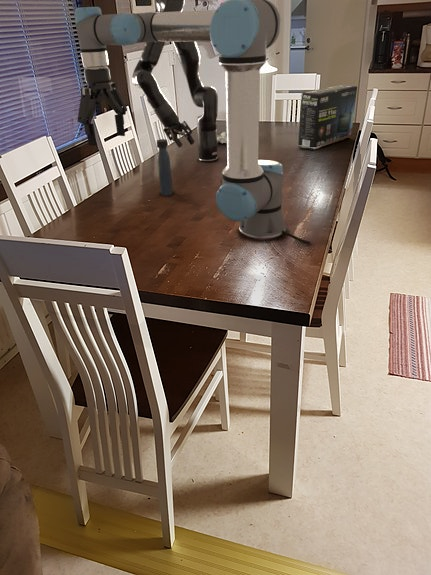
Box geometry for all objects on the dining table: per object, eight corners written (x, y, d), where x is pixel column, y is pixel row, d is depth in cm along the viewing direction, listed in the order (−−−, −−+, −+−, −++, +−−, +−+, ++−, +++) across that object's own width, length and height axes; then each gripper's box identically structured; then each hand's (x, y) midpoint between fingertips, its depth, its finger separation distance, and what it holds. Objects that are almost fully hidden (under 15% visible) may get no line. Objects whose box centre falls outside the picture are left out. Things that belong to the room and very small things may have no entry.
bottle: (170, 190, 188) (166, 139, 177) (174, 194, 184) (169, 142, 173) (159, 192, 186) (154, 141, 176) (162, 196, 182) (157, 143, 172)
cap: (165, 144, 178) (165, 138, 177) (169, 147, 174) (168, 140, 173) (155, 146, 176) (155, 140, 175) (158, 148, 173) (158, 142, 172)
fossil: (236, 139, 242) (217, 121, 245) (225, 156, 248) (207, 138, 251) (252, 138, 255) (234, 121, 258) (242, 154, 262) (224, 137, 265)
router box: (314, 151, 231) (318, 94, 217) (296, 148, 237) (299, 92, 224) (352, 138, 251) (358, 85, 238) (335, 135, 258) (340, 83, 245)
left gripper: (181, 105, 192) (201, 137, 201) (161, 111, 202) (181, 142, 211) (170, 115, 189) (192, 148, 198) (151, 122, 199) (172, 152, 208)
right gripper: (114, 63, 147) (123, 131, 158) (55, 72, 129) (70, 148, 140) (132, 63, 144) (140, 132, 155) (75, 72, 126) (88, 150, 137)
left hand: (186, 144), depth 204 cm, fingers open, 8 cm apart
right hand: (107, 140), depth 148 cm, fingers open, 13 cm apart
